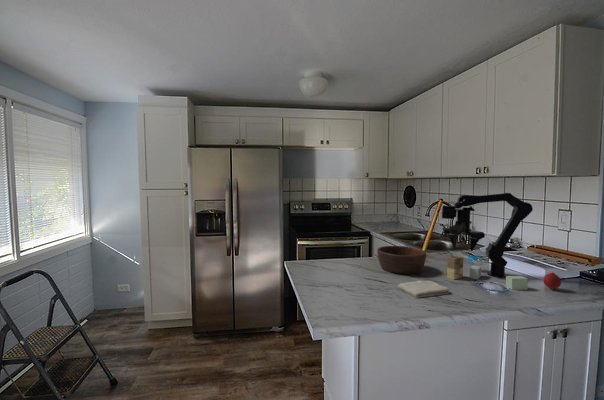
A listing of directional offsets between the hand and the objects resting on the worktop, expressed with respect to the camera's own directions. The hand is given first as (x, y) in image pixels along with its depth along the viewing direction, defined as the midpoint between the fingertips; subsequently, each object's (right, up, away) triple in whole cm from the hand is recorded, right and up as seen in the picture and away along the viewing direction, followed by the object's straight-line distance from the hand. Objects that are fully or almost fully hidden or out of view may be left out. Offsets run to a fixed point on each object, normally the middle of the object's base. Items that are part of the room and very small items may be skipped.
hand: (462, 249), depth 150 cm
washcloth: (-32, -14, -27) cm, 44 cm away
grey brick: (+2, -13, -7) cm, 15 cm away
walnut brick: (-9, -7, -9) cm, 15 cm away
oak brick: (-9, -12, -9) cm, 18 cm away
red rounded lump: (+25, -14, -25) cm, 38 cm away
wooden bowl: (-30, -12, +6) cm, 33 cm away
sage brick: (+11, -13, -23) cm, 29 cm away
